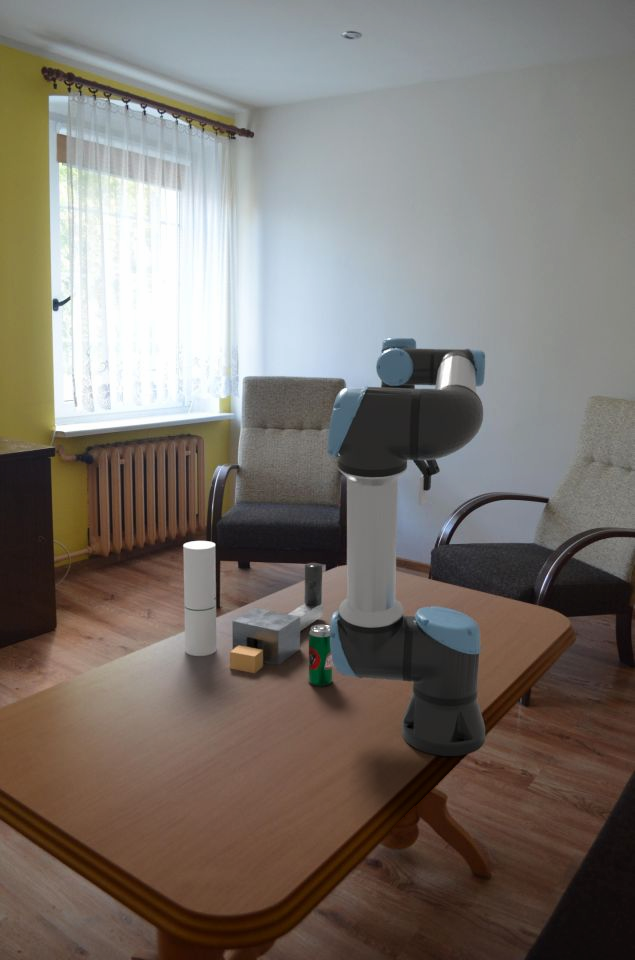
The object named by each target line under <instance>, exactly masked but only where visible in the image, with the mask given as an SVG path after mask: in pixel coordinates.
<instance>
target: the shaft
mask: <svg viewBox="0 0 635 960" xmlns="http://www.w3.org/2000/svg"><path fill="white" fill-rule="evenodd" d="M288 614H289V615H294V616H299V617H300V632H301V631H302V630H304V629H306V628H307V627H308V626H310V625H311V624H313V623H314V622H316V621H317V620H319V619H320V618H321V617H323V616H324V602H323V564H322V563H318V562H308V563H305V564H304V603H303V604H302V605H299V606H298V607H296V608H295V609H293V610H292V611H291V612H289V613H288ZM257 648H260V649H264V641H263V640H259V639H257Z"/></svg>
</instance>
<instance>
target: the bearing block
mask: <svg viewBox="0 0 635 960" xmlns="http://www.w3.org/2000/svg"><path fill="white" fill-rule="evenodd" d="M231 624H232V626H231V627H232V650H233V649H234V648H236V647H237V646H238V645H240V646H246V647H251V648H257V639H259V640H263V641H264V649H262V650H263V663H267V664H272V665H276V666H280V665H281V664H282V663H283V662H285V661H286V660H288V659H289V658H290V657H292V656H293V655H294V654H296V653H297V652H298V651H300V649H301V631H300V617H299V616H294V615H289V613H283V612H278V611H275V610H274V611H273V610H268V609H263V608H259V607H255V608H252V609H251V610H249V611H247V612H245V613H244V614H243V615H241V616H239V617H237V618H235V619H234V620H232V623H231ZM257 649H260V648H257Z"/></svg>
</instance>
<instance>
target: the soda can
mask: <svg viewBox="0 0 635 960" xmlns="http://www.w3.org/2000/svg"><path fill="white" fill-rule="evenodd" d="M333 666H334V664H333V660H332V655H331V648H330V625H327V624H315V625H311V627H310V631H309V632H308V678H307V679H308V682H309V683H310V684H311V685H313V686H316V687H325V686H329V685H330V684H331V683H332V682H333V669H334V667H333Z"/></svg>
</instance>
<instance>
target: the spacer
mask: <svg viewBox="0 0 635 960" xmlns="http://www.w3.org/2000/svg"><path fill="white" fill-rule="evenodd" d="M263 666H264V662H263V650H262V649H257V648H251V647H246V646H240V645H238V646H237V647H236V648H234V649H233V648H232V650H231V651H229V669H231V670H237V671H242V672H245V673H251V674H256V673H257V672H258V671H259V670H260V669H262V668H263Z"/></svg>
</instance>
